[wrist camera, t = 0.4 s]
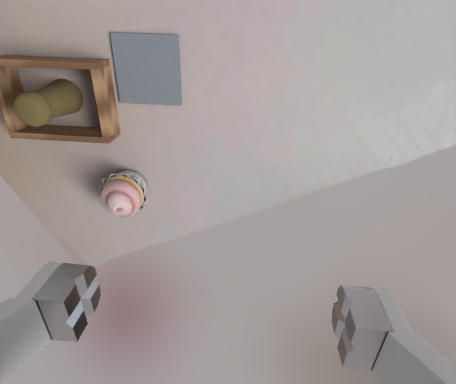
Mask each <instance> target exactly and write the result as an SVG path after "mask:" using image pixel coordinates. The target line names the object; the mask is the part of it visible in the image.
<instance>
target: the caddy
mask: <svg viewBox="0 0 456 384" xmlns="http://www.w3.org/2000/svg"><path fill="white" fill-rule="evenodd" d="M16 66H17V67H41V68H65V69H89V70H90V71H91V77H92V82H93V88H94V93H95V99H96V104H97V110H98V115H99V121H100V126H101V128H93V127H75V126H56V125H43V126H39V127H33V126H30V125H27V124H25V123H23V122H22V121H21V120H20V119H19V118H18V117H17V115H16V114H15V111H14V101H15V99H16V98H17V97H18V96H19V95H20V94H22V93H23V89H22V86H21V82H20V79H19V76H18V72H17V69H16ZM0 107H1V110H2V113H3V116H4V119H5V122H6V125H7V128H8V131H9V134H10V137H11V138H25V139H42V140H60V141H77V142H94V143H110V142H111V141H113V140H114V139H115V138H116V137H117V136H119V135H120V128H119V121H118V115H117V108H116V102H115V95H114V88H113V82H112V75H111V68H110V62H109V59H90V58H65V57H39V56H14V55H5V56H0Z"/></svg>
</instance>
